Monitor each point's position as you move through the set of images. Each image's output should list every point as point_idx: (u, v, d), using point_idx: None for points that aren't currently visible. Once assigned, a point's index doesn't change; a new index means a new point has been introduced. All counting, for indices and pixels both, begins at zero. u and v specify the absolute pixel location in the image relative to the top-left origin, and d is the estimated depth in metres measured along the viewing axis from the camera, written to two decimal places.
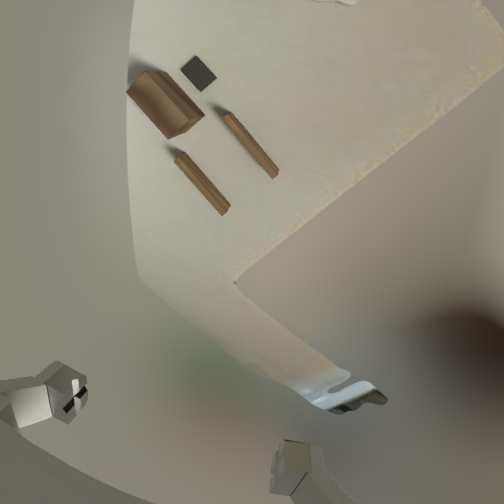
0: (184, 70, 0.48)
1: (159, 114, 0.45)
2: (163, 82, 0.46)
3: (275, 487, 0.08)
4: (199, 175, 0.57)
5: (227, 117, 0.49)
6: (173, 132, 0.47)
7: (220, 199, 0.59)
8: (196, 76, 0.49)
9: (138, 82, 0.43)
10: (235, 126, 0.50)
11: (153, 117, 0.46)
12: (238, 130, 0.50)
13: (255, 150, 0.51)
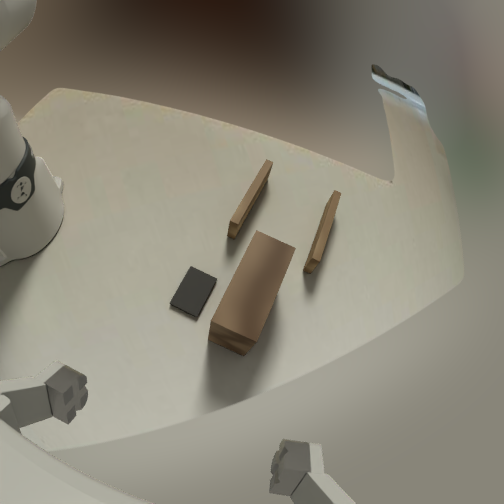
0: (194, 311, 0.39)
1: (267, 271, 0.34)
2: None
3: (275, 487, 0.08)
4: (318, 234, 0.45)
5: (233, 218, 0.42)
6: (282, 244, 0.36)
7: (327, 206, 0.49)
8: (197, 291, 0.40)
9: (232, 324, 0.30)
10: (239, 207, 0.43)
11: (276, 278, 0.33)
12: (242, 203, 0.44)
13: (254, 182, 0.46)
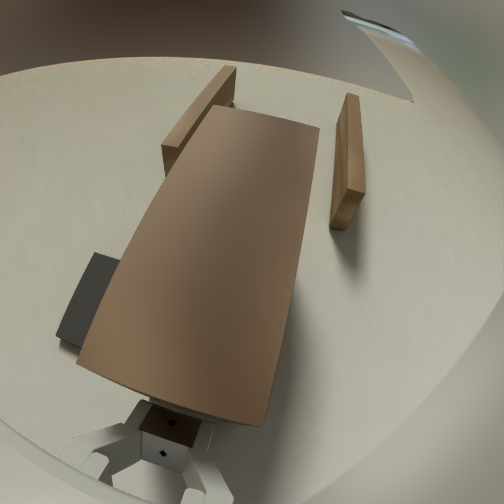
0: None
1: (258, 179, 0.11)
2: None
3: (165, 460, 0.09)
4: (341, 157, 0.22)
5: (168, 140, 0.19)
6: (284, 121, 0.13)
7: (342, 118, 0.26)
8: None
9: (151, 373, 0.07)
10: (180, 123, 0.20)
11: (290, 194, 0.10)
12: (185, 117, 0.20)
13: (206, 89, 0.23)
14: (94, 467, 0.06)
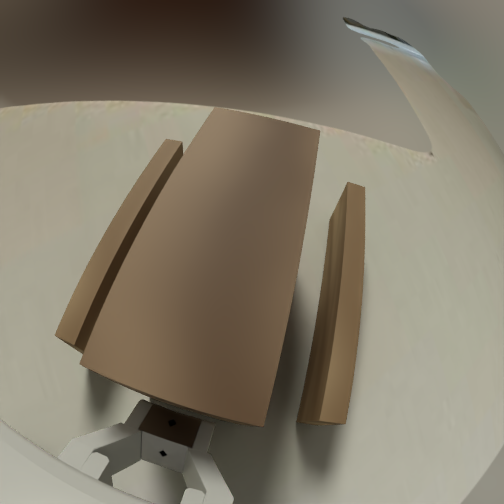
0: None
1: (259, 182, 0.11)
2: None
3: (164, 460, 0.09)
4: (326, 319, 0.15)
5: (63, 327, 0.12)
6: (285, 124, 0.13)
7: (337, 227, 0.19)
8: None
9: (155, 373, 0.07)
10: (80, 288, 0.13)
11: (290, 197, 0.10)
12: (88, 273, 0.13)
13: (127, 202, 0.16)
14: (94, 467, 0.06)
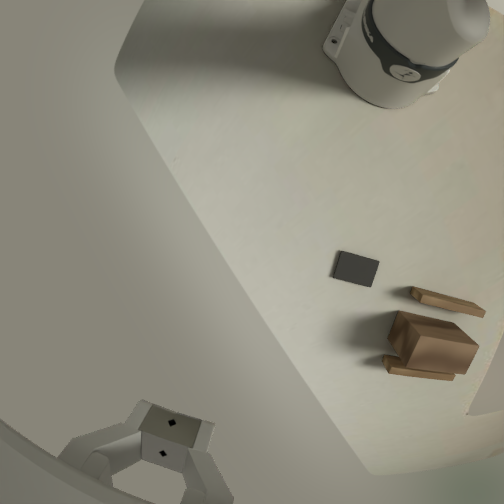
0: (337, 275, 0.43)
1: (451, 361, 0.35)
2: (427, 328, 0.38)
3: (165, 460, 0.09)
4: None
5: (425, 297, 0.38)
6: (468, 365, 0.35)
7: None
8: (356, 273, 0.42)
9: (417, 349, 0.35)
10: (436, 299, 0.38)
11: (446, 368, 0.35)
12: (440, 301, 0.38)
13: (461, 306, 0.38)
14: (94, 467, 0.06)
